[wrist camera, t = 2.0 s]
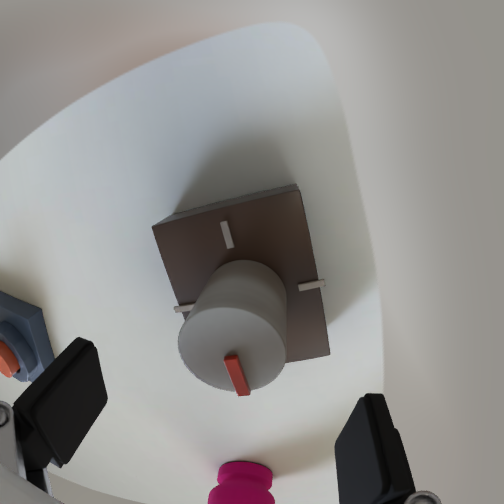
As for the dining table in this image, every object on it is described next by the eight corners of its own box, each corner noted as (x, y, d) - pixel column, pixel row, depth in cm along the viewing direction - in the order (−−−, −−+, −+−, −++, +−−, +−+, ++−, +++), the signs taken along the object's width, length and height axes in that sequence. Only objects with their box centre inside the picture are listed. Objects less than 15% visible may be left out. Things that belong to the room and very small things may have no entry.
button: (-5, 335, 20) (-15, 343, 18) (14, 346, 20) (4, 356, 18) (5, 361, 21) (-4, 369, 20) (24, 373, 21) (15, 382, 19)
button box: (-3, 289, 23) (-26, 304, 19) (41, 308, 22) (16, 328, 18) (19, 359, 26) (1, 376, 22) (63, 382, 25) (45, 404, 22)
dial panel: (166, 216, 18) (145, 228, 15) (301, 182, 17) (305, 188, 14) (212, 346, 21) (202, 374, 18) (329, 328, 19) (335, 355, 16)
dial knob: (195, 268, 16) (158, 319, 11) (276, 251, 15) (272, 300, 10) (219, 336, 17) (197, 399, 12) (293, 324, 16) (295, 390, 11)
